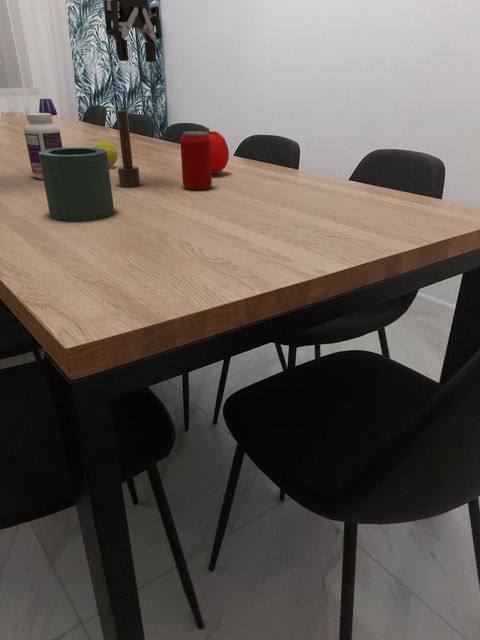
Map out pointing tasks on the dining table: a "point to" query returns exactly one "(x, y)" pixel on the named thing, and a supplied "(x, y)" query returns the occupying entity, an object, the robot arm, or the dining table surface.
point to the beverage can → (196, 160)
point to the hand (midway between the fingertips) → (137, 61)
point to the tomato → (218, 151)
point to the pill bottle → (40, 138)
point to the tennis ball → (108, 152)
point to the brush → (126, 154)
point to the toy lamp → (47, 107)
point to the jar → (77, 183)
